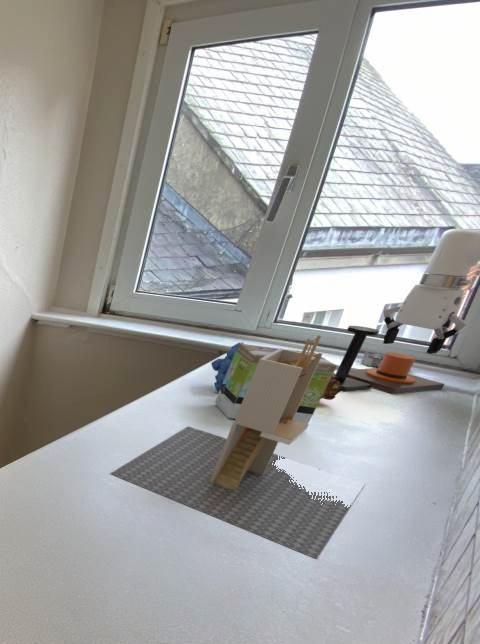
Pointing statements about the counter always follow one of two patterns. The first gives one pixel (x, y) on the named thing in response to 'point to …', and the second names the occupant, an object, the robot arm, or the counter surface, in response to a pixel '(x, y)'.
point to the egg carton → (372, 359)
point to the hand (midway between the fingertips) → (409, 348)
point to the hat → (394, 368)
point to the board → (395, 383)
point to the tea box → (244, 371)
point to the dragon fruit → (332, 389)
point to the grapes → (223, 366)
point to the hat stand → (353, 359)
